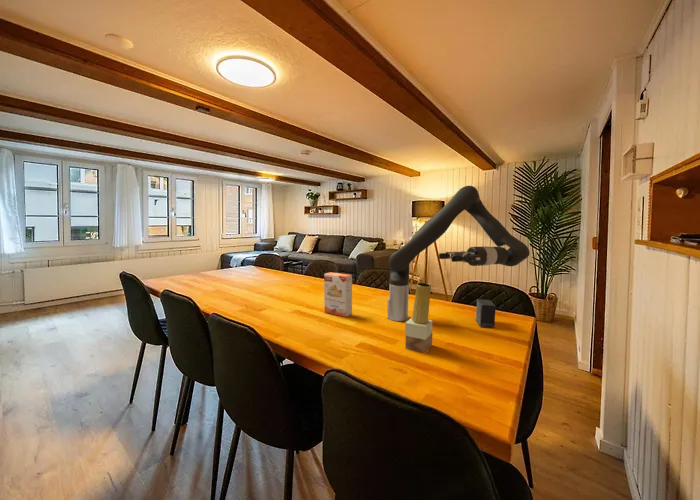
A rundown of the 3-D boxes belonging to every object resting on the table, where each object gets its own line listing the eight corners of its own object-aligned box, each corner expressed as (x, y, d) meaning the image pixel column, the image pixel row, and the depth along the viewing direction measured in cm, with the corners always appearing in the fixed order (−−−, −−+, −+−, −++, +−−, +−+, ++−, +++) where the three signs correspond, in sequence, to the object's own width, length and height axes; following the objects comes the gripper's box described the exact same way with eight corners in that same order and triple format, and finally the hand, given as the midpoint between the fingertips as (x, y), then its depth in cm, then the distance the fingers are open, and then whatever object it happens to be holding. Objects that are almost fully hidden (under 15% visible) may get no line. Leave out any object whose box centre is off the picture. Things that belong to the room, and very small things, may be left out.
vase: (410, 316, 119) (414, 281, 116) (426, 317, 119) (430, 282, 116) (413, 323, 113) (416, 286, 110) (429, 324, 113) (433, 287, 110)
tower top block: (405, 335, 115) (405, 322, 114) (412, 329, 122) (412, 316, 121) (426, 339, 111) (426, 326, 110) (432, 332, 118) (432, 320, 117)
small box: (495, 328, 136) (496, 305, 135) (480, 327, 138) (480, 304, 137) (489, 320, 147) (490, 299, 146) (475, 320, 148) (476, 298, 147)
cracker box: (323, 313, 160) (323, 273, 158) (331, 310, 165) (330, 271, 163) (345, 317, 152) (345, 276, 150) (352, 314, 157) (352, 274, 155)
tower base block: (405, 348, 115) (405, 335, 115) (412, 341, 122) (412, 329, 122) (426, 353, 111) (426, 339, 111) (432, 345, 118) (432, 332, 118)
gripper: (470, 245, 127) (435, 246, 123) (495, 248, 113) (457, 249, 109) (469, 263, 128) (435, 264, 123) (494, 268, 114) (456, 270, 110)
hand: (445, 257), depth 116 cm, fingers open, 8 cm apart
